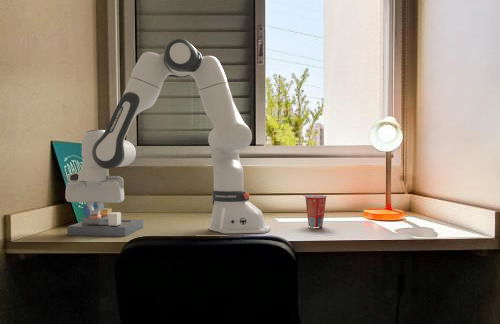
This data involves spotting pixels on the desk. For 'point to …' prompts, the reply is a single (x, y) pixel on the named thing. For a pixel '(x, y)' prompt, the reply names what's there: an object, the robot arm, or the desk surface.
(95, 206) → the perfume bottle
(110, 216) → the ivory slider
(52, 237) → the desk surface
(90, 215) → the push button
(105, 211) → the brass slider
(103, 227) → the console
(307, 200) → the cup
